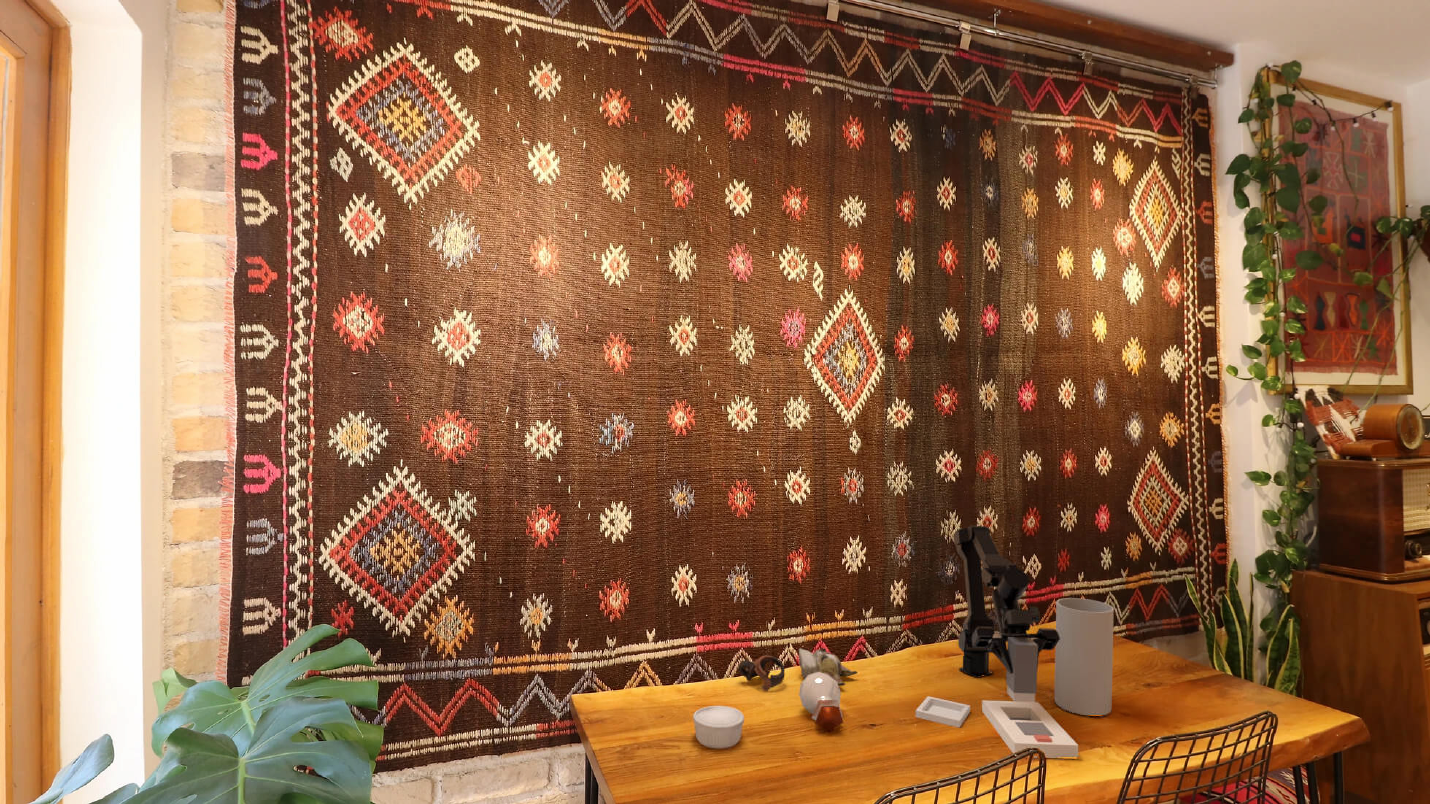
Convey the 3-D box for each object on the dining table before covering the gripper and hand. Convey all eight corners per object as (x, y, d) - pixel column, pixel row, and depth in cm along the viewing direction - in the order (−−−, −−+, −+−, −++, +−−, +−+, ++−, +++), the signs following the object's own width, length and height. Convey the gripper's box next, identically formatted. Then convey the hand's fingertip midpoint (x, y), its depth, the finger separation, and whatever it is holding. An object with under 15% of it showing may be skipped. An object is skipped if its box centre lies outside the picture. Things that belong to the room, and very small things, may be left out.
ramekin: (714, 723, 172) (715, 700, 172) (754, 738, 165) (754, 714, 165) (682, 740, 163) (682, 716, 163) (722, 757, 156) (722, 731, 156)
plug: (1005, 692, 175) (1007, 636, 174) (1027, 693, 175) (1029, 637, 174) (1013, 701, 170) (1015, 644, 170) (1036, 702, 170) (1037, 645, 169)
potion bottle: (819, 709, 184) (833, 745, 169) (787, 687, 182) (799, 722, 167) (843, 679, 183) (859, 713, 168) (811, 657, 182) (825, 689, 167)
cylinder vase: (1118, 720, 177) (1120, 614, 176) (1061, 715, 179) (1063, 610, 179) (1102, 699, 189) (1104, 600, 189) (1049, 694, 191) (1051, 596, 191)
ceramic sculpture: (807, 636, 207) (859, 650, 199) (805, 667, 207) (857, 682, 200) (791, 648, 198) (845, 662, 190) (789, 680, 198) (843, 696, 191)
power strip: (982, 712, 180) (982, 697, 180) (1037, 714, 179) (1037, 699, 179) (1014, 757, 158) (1015, 740, 158) (1078, 759, 157) (1078, 742, 157)
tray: (927, 704, 184) (927, 696, 184) (969, 713, 179) (970, 705, 179) (915, 718, 176) (915, 710, 176) (959, 729, 170) (959, 720, 170)
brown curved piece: (777, 677, 202) (787, 656, 198) (778, 706, 193) (788, 684, 189) (734, 666, 201) (743, 644, 197) (732, 694, 192) (742, 672, 189)
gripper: (976, 592, 176) (990, 655, 165) (1057, 594, 176) (1077, 658, 165) (965, 615, 184) (978, 677, 173) (1043, 617, 184) (1061, 680, 173)
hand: (1023, 673), depth 171 cm, fingers closed on plug, 5 cm apart
